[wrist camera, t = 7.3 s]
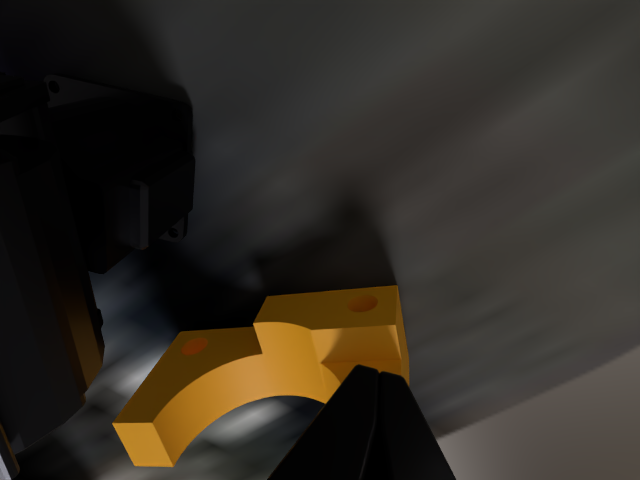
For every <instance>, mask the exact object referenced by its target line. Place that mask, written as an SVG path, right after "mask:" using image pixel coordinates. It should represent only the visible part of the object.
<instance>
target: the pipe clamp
mask: <svg viewBox="0 0 640 480" xmlns="http://www.w3.org/2000/svg"><path fill="white" fill-rule="evenodd" d="M253 324H254V327H241V328H226V329H211V330H196V331H182V332H180V333H179V334H178V336H177V337H176V338H175V340H174V341H173V342H172V344H171V345H170V346H169V348H168V349H167V350H166V352H165V353H164V354H163V356H162V357H161V358H160V360H159V361H158V362H157V364H156V365H155V366H154V368H153V369H152V370H151V372H150V373H149V374H148V376H147V377H146V379H145V380H144V381H143V383H142V384H141V385H140V387H139V388H138V389H137V391H136V392H135V393H134V395H133V396H132V397H131V399H130V400H129V401H128V403H127V404H126V405H125V407H124V408H123V409H122V411H121V412H120V413H119V415H118V416H117V417H116V419H115V420H114V422H113V423H112V424H113V426H114V427H115V429H116V431H117V433H118V435H119V437H120V439H121V441H122V443H123V445H124V446H125V448H126V450H127V452H128V454H129V456H130V458H131V460H132V462H133V464H134V465H135V466H161V467H174V465H175V463H176V461H177V460H178V458H179V457H180V455H181V454H182V452H183V451H184V449H185V448H186V447H187V446H188V445H189V443H190V442H191V441H192V440H193V439H194V438H195V437H196V436H197V435H198V434H199V433H200V432H201V431H202V430H203V429H204V428H205V427H207V426H208V425H209V424H210V423H212V422H213V421H214V420H216V419H217V418H219V417H220V416H222V415H224V414H225V413H227V412H229V411H230V410H232V409H234V408H236V407H238V406H241V405H243V404H245V403H248V402H251V401H254V400H257V399H261V398H266V397H271V396H279V395H296V396H304V397H308V398H312V399H315V400H318V401H321V402H323V403H325V404H326V403H327V401H328V400H329V399H330V397H331V396H332V395H333V394H334V392H335V391H336V390H337V388H338V387H339V386H340V385H341V383H342V382H343V381H344V379H345V378H346V377H347V375H348V374H349V373H350V372H351V370H352V369H353V368H354V366H356V365H358V364H360V365H364V366H368V367H371V368H375V369H377V370H378V371H379V373H380V372H381V371H386V372H390V373H394V374H397V375H401V376H403V377H404V379H405V380H406V382H407V384H408V386H409V356H408V350H407V343H406V337H405V331H404V324H403V318H402V312H401V305H400V299H399V292H398V286H397V285H393V286H382V287H370V288H358V289H346V290H335V291H323V292H311V293H299V294H288V295H276V296H267V298H266V300H265V302H264V303H263V305H262V307H261V309H260V311H259V313H258V315H257V317H256V319H255V321H254V323H253Z"/></svg>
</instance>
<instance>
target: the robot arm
mask: <svg viewBox="0 0 640 480" xmlns="http://www.w3.org/2000/svg"><path fill="white" fill-rule="evenodd" d="M55 82H57V84H58V85H59V88H60V89H59V91H58V90H57V88H56V86H55ZM176 109H178V110H180V111H181V112H182V114H183V118H182V120H181V119H179V118H178V117H177V116H176ZM192 121H193V115H192V110H191V108H190V107H189V106H188V105H187V104H186V103H184V102H181V101H177V100H173V99H168V98H164V97H159V96H155V95H151V94H146V93H142V92H138V91H133V90H129V89H124V88H120V87H116V86H111V85H107V84H103V83H98V82H94V81H89V80H85V79H81V78H76V77H72V76H68V75H63V74H49V75H47V76H45V78H44V80H43V82H42V81H24V79H23V77H20V76H9V75H5V73H2V72H0V480H12V479H13V478H15V477H16V476H17V475H18V474H19V471H20V468H19V465H18V463H17V460H16V458H15V454H17V453H19V452H21V451H23V450H25V449H27V448H28V447H30V446H31V445H33V444H34V443H36V442H37V441H39V440H41V439H42V438H44V437H45V436H47V435H48V434H50V433H51V432H53V431H54V430H56V429H57V428H59V427H60V426H61V425H63V424H64V423H65V422H66V421H67V420H68V419H69V418H70V417H72V416H73V415H74V414H75V413H76V412H77V411H78V410H79V409H80V408H81V407H83V405H84V404H85V402H86V397H85V392H86V391H87V390H88V388H89V386H90V385H91V383H92V382H93V380H94V378H95V377H96V375H97V373H98V372H99V370H100V368H101V367H102V363H103V356H104V348H105V345H104V340H103V336H102V332H101V327H102V325H103V319H102V314H101V310H100V309H97V306H96V302H95V298H94V294H93V290H92V286H91V281H90V277H89V273H88V271H91V272H94V273H98V274H104V273H106V272H107V271H108V270H109V269H111V268H112V267H113V266H114V265H116V264H117V263H118V262H119V261H121V260H122V259H123V258H124V257H125V256H127V255H128V254H129V253H130V252H132V251H133V250H134V249H135V248H137V249H140V250H144V249H146V248H147V247H149V246H150V245H151V244H152V243H154V242H155V241H156V240H157V239H158V238H159V239H162V240H166V241H170V242H179V241H181V240H182V239H183V238H184V237H185V236H186V234H187V222H188V213H189V212H190V211H191V210H192V208H193V192H194V174H195V158H194V156H193V155H192V153H191V141H192ZM172 228H174V229H176V230H177V231H178V234H176V233H174V232H173V230H172ZM267 480H456V478H455V476H454V475H453V472H452V470H451V469H450V466H449V464H448V463H447V461H446V459H445V457H444V455H443V453H442V451H441V449H440V447H439V445H438V443H437V441H436V439H435V437H434V435H433V433H432V431H431V429H430V427H429V425H428V423H427V421H426V419H425V417H424V415H423V414H422V412H421V410H420V408H419V406H418V404H417V402H416V400H415V398H414V396H413V394H412V392H411V390H410V388H409V386H408V384H407V382H406V380H405V379H404V377H403V376H401V375H397V374H394V373H390V372H386V371H381V372H380V373H379V371H378V370H377V369H375V368H371V367H368V366H364V365H360V364H358V365H356V366H354V368H353V369H352V370H351V372H350V373H349V374H348V375H347V377H346V378H345V379H344V381H343V382H342V383H341V385H340V386H339V387H338V388H337V390H336V391H335V392H334V394H333V395H332V396H331V397H330V399H329V400H328V401H327V403H326V404H325V405H324V406H323V408H322V409H321V410H320V412H319V413H318V414H317V416H316V417H315V418H314V419H313V421H312V422H311V423H310V425H309V426H308V427H307V428H306V430H305V431H304V432H303V434H302V435H301V436H300V438H299V439H298V440H297V441H296V443H295V444H294V445H293V447H292V448H291V449H290V450H289V452H288V453H287V454H286V456H285V457H284V458H283V460H282V461H281V462H280V463H279V465H278V466H277V467H276V469H275V470H274V471H273V472H272V474H271V475H270V476H269V478H268V479H267Z"/></svg>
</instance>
